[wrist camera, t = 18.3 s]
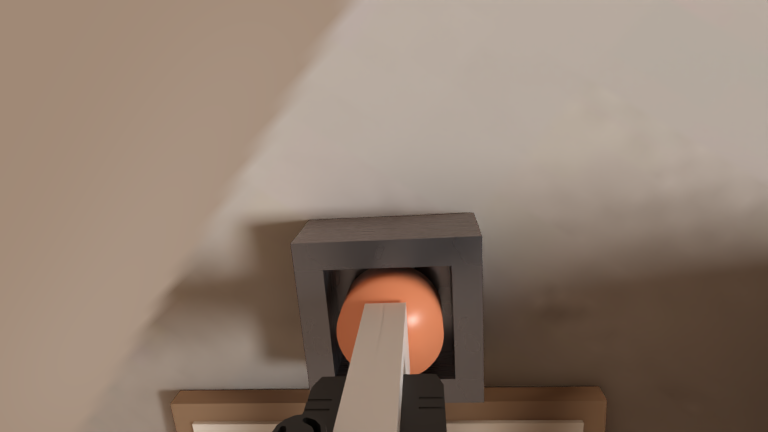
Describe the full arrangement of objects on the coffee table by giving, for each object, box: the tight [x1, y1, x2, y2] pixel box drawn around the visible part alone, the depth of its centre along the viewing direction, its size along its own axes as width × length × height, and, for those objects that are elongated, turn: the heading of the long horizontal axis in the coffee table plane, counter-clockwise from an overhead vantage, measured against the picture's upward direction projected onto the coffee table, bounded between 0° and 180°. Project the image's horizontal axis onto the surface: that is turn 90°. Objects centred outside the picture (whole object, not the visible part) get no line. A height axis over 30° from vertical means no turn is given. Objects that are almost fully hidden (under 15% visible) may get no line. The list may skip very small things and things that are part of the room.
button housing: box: [291, 213, 484, 403], centre depth 20 cm, size 7×7×3 cm
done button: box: [337, 267, 444, 374], centre depth 19 cm, size 4×4×2 cm
